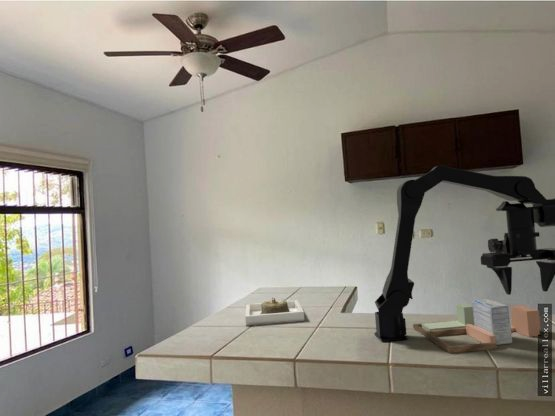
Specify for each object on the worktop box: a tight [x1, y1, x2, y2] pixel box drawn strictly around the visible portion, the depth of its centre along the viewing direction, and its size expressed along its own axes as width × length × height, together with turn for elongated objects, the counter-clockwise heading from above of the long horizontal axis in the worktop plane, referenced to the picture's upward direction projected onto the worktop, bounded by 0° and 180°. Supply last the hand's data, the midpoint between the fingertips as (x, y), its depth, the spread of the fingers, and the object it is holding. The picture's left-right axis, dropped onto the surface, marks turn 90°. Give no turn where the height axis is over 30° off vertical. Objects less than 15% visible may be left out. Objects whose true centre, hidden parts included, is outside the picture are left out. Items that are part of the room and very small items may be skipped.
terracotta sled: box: [466, 304, 541, 343], centre depth 94 cm, size 15×10×6 cm
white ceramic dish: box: [244, 299, 305, 327], centre depth 131 cm, size 18×18×3 cm
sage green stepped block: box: [421, 303, 474, 331], centre depth 103 cm, size 12×5×6 cm, turn 93°
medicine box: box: [471, 298, 513, 346], centre depth 94 cm, size 8×4×9 cm, turn 3°
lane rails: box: [412, 320, 498, 354], centre depth 97 cm, size 11×20×1 cm, turn 3°
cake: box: [260, 297, 289, 314], centre depth 132 cm, size 10×10×5 cm
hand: (526, 292), depth 96 cm, fingers open, 9 cm apart
